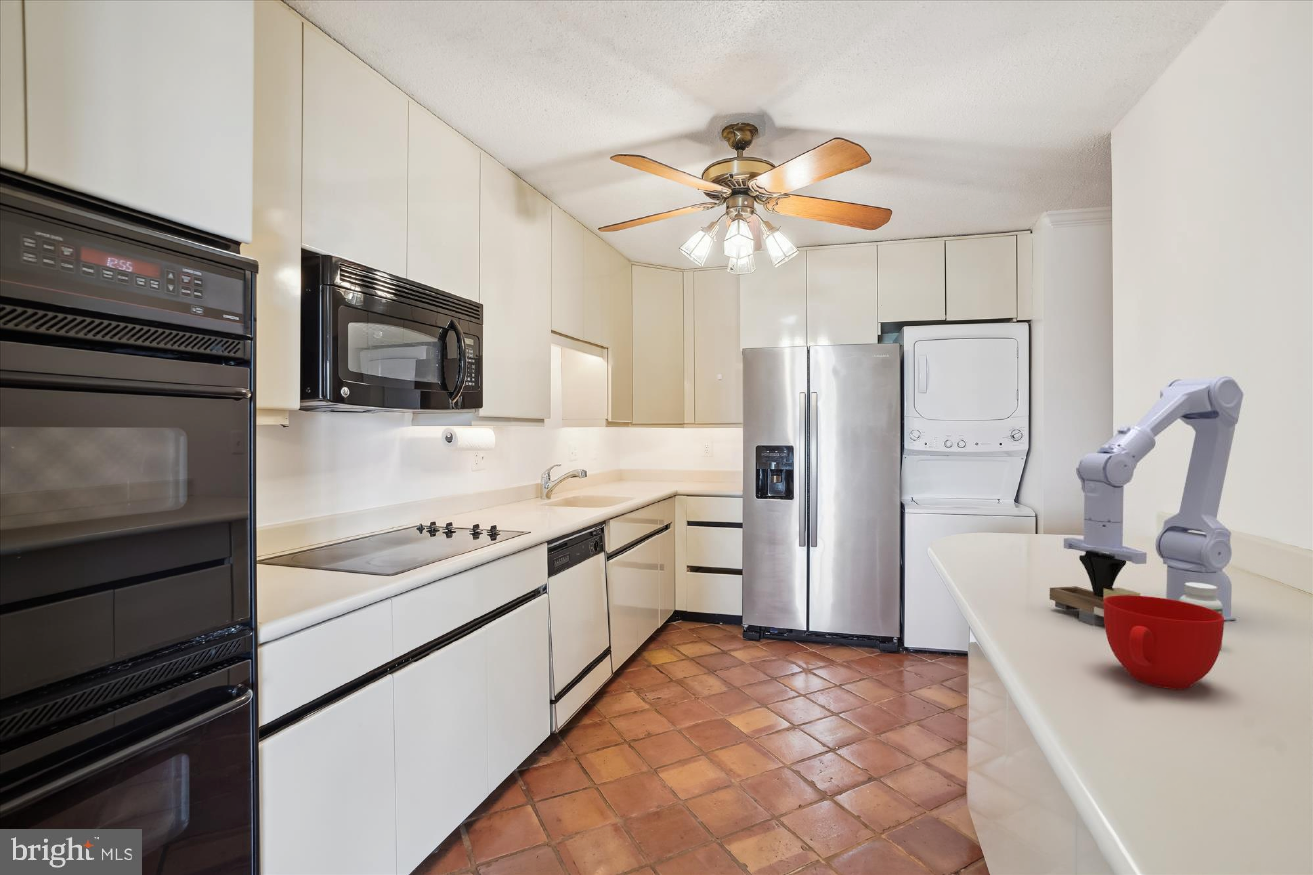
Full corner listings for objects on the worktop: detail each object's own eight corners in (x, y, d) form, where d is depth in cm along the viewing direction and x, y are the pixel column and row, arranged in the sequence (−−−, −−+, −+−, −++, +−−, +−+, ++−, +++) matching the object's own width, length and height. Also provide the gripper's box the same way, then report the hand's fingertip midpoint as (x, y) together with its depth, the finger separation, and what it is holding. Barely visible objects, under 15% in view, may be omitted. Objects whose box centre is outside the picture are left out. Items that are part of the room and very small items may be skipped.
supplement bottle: (1185, 637, 106) (1186, 579, 105) (1227, 646, 101) (1228, 586, 101) (1172, 642, 103) (1173, 583, 103) (1215, 652, 98) (1216, 590, 98)
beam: (1077, 607, 123) (1077, 586, 122) (1166, 636, 106) (1166, 611, 106) (1047, 609, 121) (1047, 587, 121) (1132, 638, 104) (1132, 613, 104)
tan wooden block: (1118, 605, 112) (1118, 587, 112) (1139, 611, 108) (1140, 593, 108) (1103, 606, 112) (1103, 588, 112) (1124, 612, 108) (1125, 594, 108)
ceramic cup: (1076, 682, 86) (1077, 608, 86) (1119, 656, 96) (1121, 590, 96) (1198, 717, 76) (1200, 634, 76) (1233, 684, 86) (1235, 610, 86)
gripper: (1050, 515, 120) (1049, 587, 120) (1123, 526, 106) (1121, 608, 106) (1081, 514, 121) (1080, 585, 121) (1157, 525, 107) (1155, 606, 107)
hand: (1101, 596), depth 114 cm, fingers closed
